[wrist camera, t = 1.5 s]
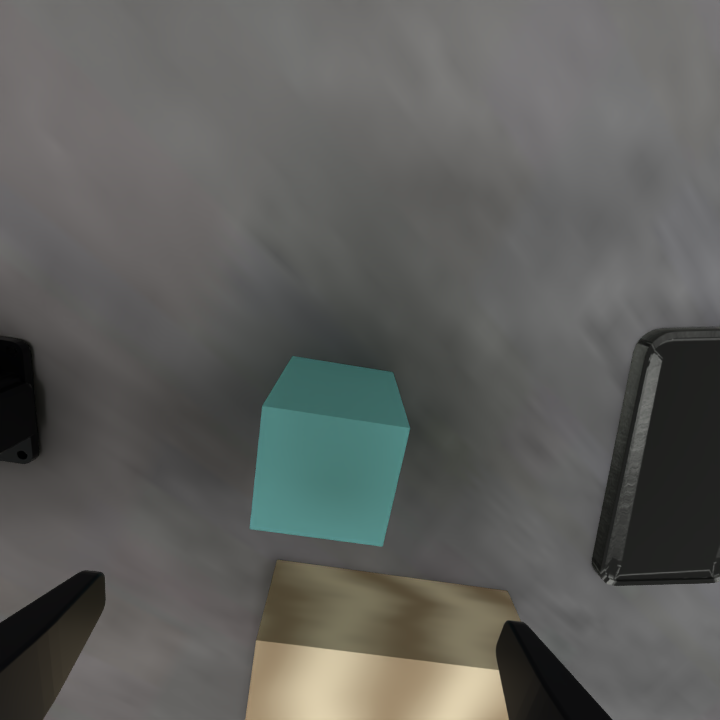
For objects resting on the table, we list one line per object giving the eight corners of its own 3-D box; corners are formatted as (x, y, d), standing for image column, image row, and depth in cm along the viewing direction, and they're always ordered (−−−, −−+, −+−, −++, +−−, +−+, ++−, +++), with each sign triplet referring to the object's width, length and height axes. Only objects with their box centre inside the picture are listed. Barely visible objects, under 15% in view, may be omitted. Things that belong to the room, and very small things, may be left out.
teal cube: (281, 445, 19) (249, 528, 13) (292, 355, 18) (262, 405, 12) (374, 459, 20) (382, 546, 14) (393, 371, 18) (409, 428, 12)
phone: (597, 586, 21) (651, 332, 17) (585, 570, 22) (633, 327, 18) (732, 582, 21) (821, 328, 17) (714, 566, 22) (793, 323, 18)
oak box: (255, 713, 26) (231, 819, 21) (278, 554, 22) (256, 640, 17) (449, 734, 26) (469, 842, 22) (505, 585, 22) (545, 675, 18)
